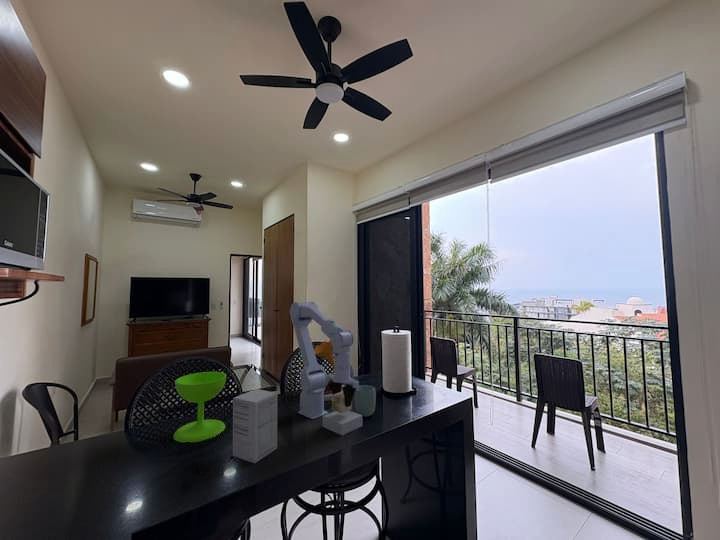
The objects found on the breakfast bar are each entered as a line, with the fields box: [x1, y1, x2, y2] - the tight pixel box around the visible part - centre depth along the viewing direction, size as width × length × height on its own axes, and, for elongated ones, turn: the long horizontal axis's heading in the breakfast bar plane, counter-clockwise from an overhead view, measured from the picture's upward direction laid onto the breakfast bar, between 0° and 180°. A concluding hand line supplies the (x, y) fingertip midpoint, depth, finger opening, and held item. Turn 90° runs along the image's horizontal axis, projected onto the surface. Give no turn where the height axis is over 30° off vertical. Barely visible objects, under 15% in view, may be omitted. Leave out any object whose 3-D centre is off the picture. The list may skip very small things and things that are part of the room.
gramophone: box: [313, 339, 345, 402], centre depth 148 cm, size 20×20×25 cm
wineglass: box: [172, 371, 227, 443], centre depth 108 cm, size 16×16×18 cm
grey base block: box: [322, 410, 363, 436], centre depth 111 cm, size 10×10×4 cm
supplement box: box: [232, 388, 278, 464], centre depth 94 cm, size 10×9×17 cm
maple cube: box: [331, 392, 353, 413], centre depth 111 cm, size 5×5×5 cm
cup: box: [354, 384, 377, 418], centre depth 121 cm, size 8×8×10 cm
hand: (342, 404), depth 112 cm, fingers closed on maple cube, 5 cm apart
